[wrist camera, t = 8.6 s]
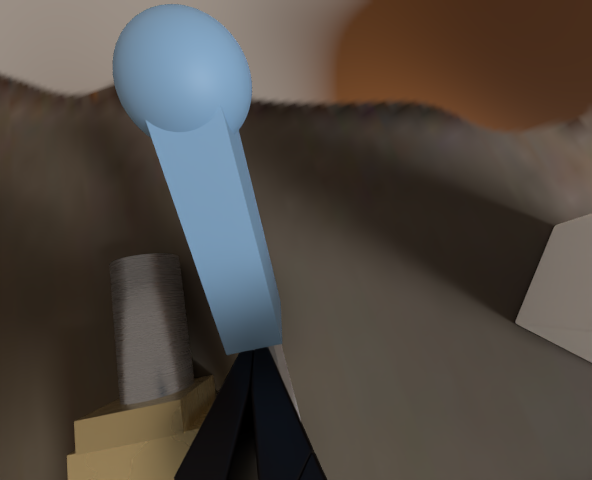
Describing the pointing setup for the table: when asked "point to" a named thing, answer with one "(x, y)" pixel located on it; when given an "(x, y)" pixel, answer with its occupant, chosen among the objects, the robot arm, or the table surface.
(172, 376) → the valve
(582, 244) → the milk
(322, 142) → the table surface
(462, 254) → the table surface
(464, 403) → the table surface
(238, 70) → the lever
